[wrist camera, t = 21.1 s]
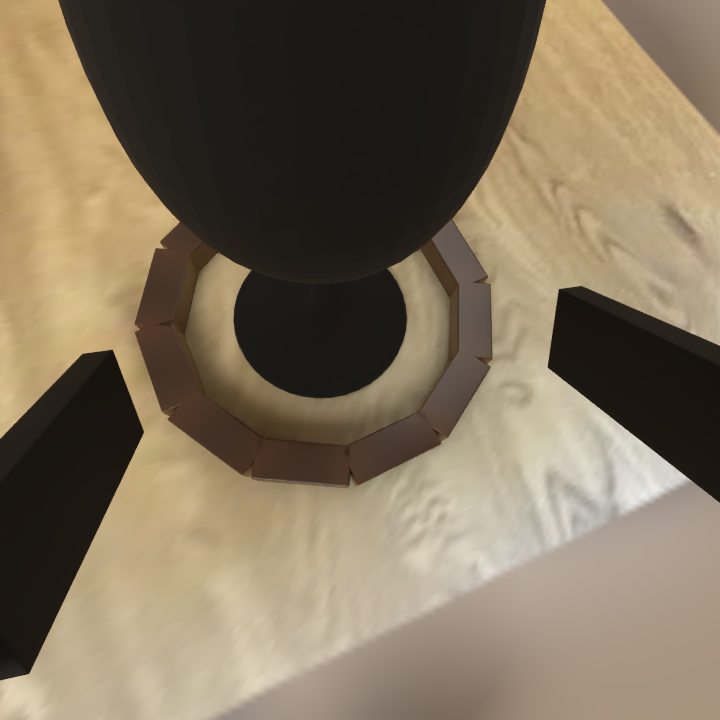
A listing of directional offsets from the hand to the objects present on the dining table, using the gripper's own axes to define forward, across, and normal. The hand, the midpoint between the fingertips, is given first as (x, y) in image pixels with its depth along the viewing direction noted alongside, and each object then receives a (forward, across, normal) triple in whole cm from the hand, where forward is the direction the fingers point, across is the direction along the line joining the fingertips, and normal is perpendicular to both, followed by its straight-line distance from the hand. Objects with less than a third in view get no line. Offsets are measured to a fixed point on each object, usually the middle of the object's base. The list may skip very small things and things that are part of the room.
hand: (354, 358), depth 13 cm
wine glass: (+13, 0, +3) cm, 13 cm away
